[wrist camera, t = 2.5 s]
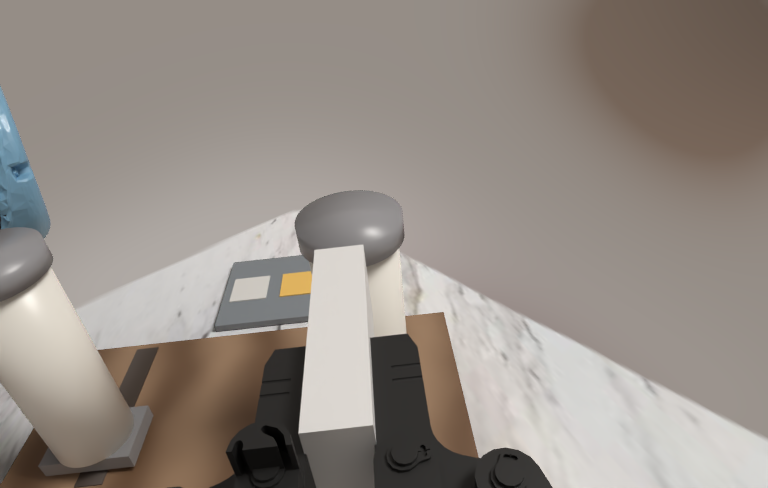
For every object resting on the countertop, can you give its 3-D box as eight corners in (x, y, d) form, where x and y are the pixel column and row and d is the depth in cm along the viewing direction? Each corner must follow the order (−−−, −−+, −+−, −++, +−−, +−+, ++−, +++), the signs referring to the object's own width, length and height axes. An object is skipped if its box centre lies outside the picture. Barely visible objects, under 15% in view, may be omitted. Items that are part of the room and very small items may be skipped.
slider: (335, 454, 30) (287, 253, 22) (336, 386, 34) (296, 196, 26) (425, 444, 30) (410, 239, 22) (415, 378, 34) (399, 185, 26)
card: (216, 331, 43) (214, 325, 43) (235, 267, 50) (233, 261, 50) (324, 319, 43) (322, 313, 43) (327, 257, 50) (326, 251, 50)
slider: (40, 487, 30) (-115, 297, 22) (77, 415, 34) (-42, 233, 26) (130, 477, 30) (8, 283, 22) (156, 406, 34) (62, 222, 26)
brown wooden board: (-4, 541, 30) (-24, 522, 29) (88, 370, 41) (77, 351, 39) (480, 487, 30) (480, 465, 29) (444, 331, 41) (443, 311, 39)
